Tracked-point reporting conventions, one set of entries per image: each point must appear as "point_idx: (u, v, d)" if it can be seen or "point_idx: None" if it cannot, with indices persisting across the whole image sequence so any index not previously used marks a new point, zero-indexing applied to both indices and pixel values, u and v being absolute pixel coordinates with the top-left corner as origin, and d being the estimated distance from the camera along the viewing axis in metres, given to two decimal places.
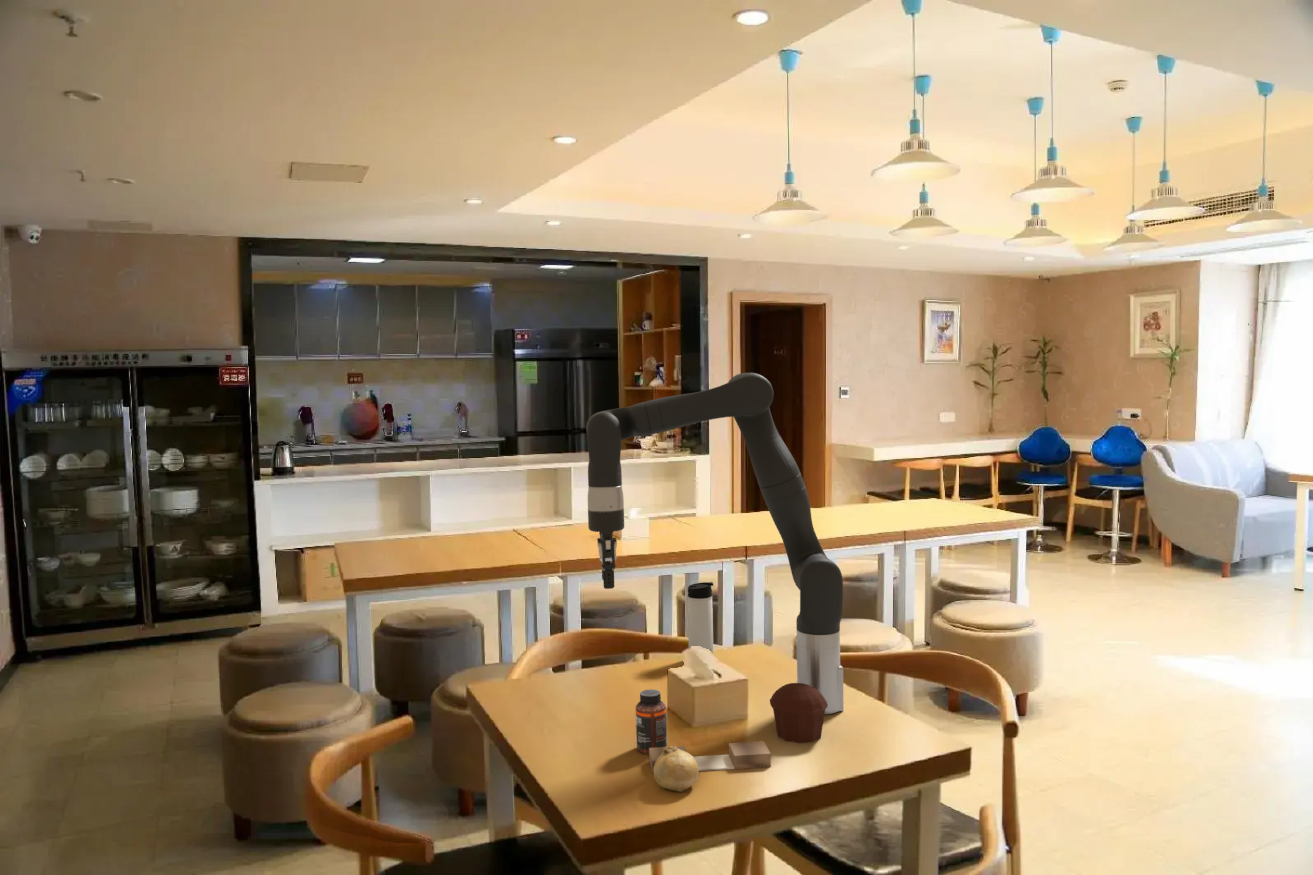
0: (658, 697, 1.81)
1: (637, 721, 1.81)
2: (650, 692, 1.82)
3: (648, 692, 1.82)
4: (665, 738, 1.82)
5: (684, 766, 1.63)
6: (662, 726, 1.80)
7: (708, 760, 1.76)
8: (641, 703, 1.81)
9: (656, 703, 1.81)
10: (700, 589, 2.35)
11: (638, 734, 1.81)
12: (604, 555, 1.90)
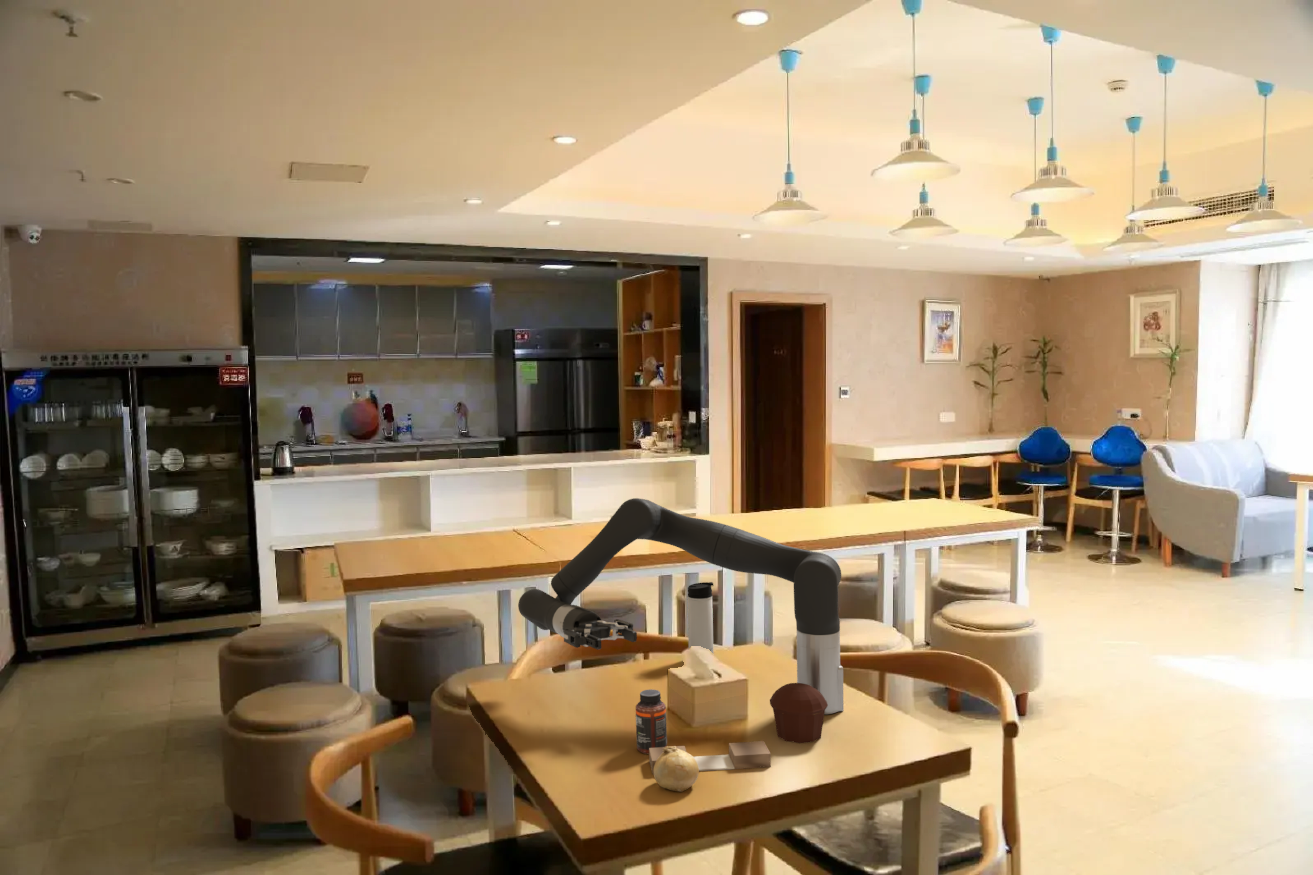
0: (658, 697, 1.81)
1: (637, 721, 1.81)
2: (650, 692, 1.82)
3: (648, 692, 1.82)
4: (665, 738, 1.82)
5: (684, 766, 1.63)
6: (662, 726, 1.80)
7: (708, 760, 1.76)
8: (641, 703, 1.81)
9: (656, 703, 1.81)
10: (700, 589, 2.35)
11: (638, 734, 1.81)
12: (569, 642, 1.93)
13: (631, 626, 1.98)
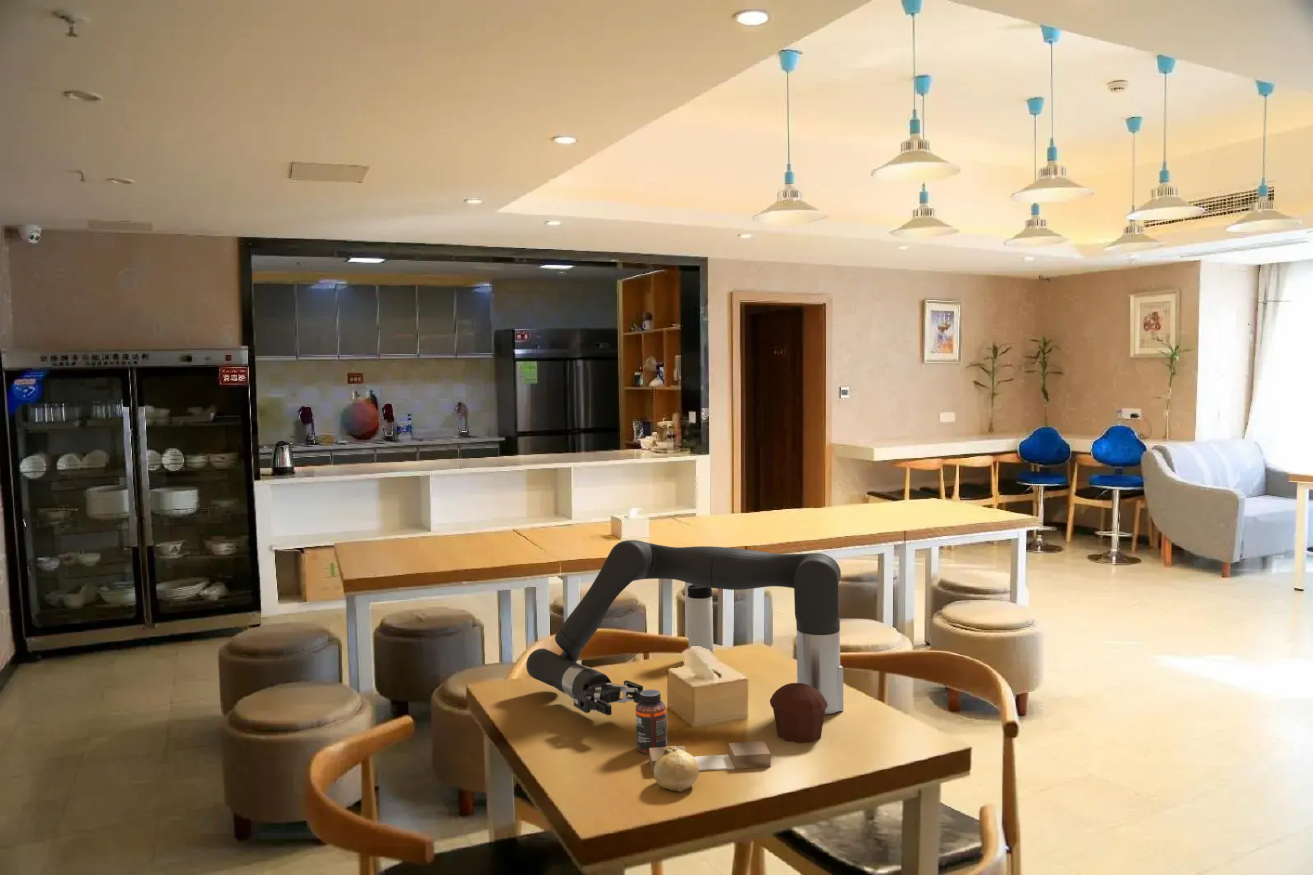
0: (658, 697, 1.81)
1: (637, 721, 1.81)
2: (650, 692, 1.82)
3: (648, 692, 1.82)
4: (665, 738, 1.82)
5: (684, 766, 1.63)
6: (662, 726, 1.80)
7: (708, 760, 1.76)
8: (641, 703, 1.81)
9: (656, 703, 1.81)
10: (700, 589, 2.35)
11: (638, 734, 1.81)
12: (579, 707, 1.91)
13: (641, 688, 1.97)
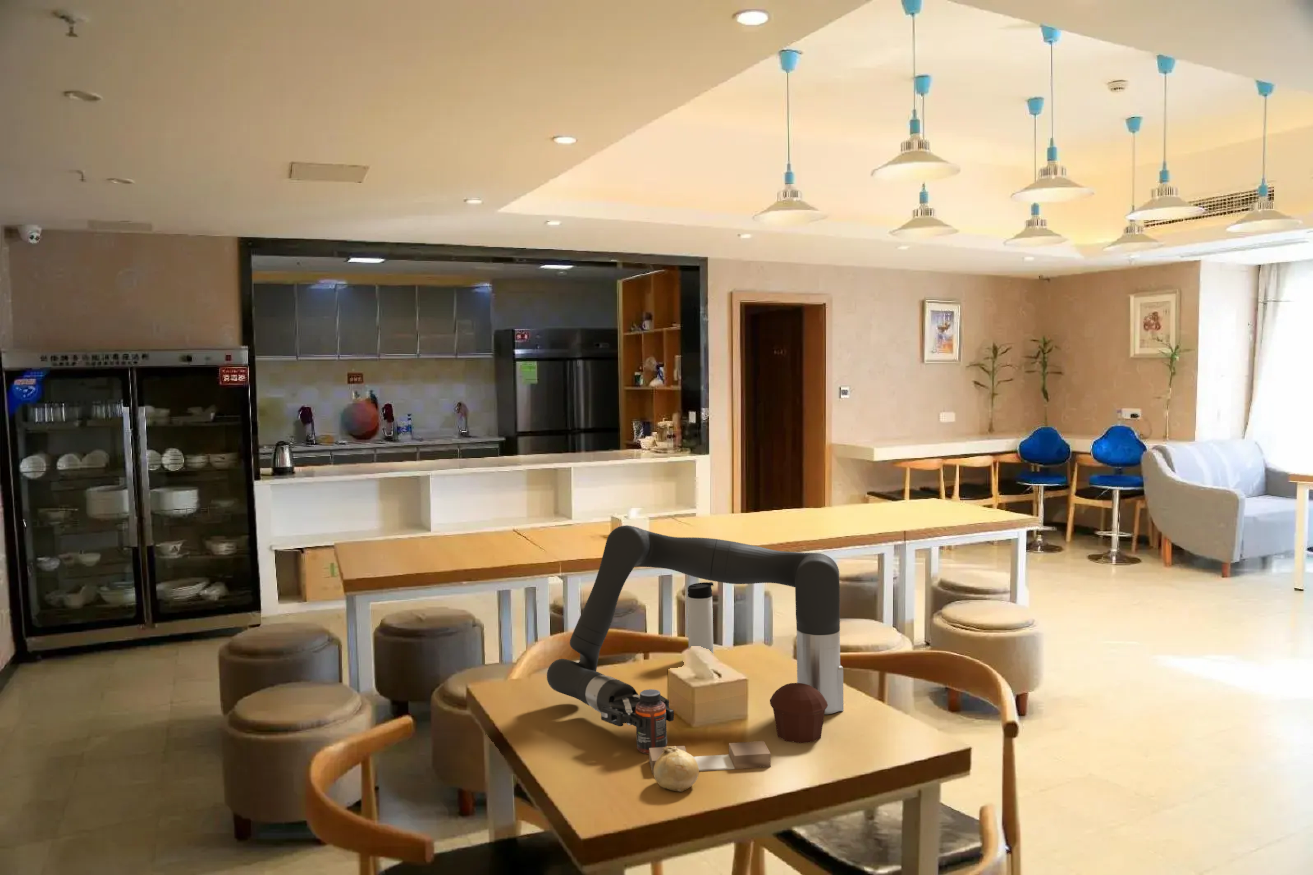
0: (658, 697, 1.81)
1: None
2: (650, 691, 1.82)
3: (648, 692, 1.82)
4: (665, 738, 1.82)
5: (684, 766, 1.63)
6: (662, 726, 1.80)
7: (708, 760, 1.76)
8: (641, 703, 1.81)
9: (656, 703, 1.81)
10: (700, 589, 2.35)
11: (638, 734, 1.81)
12: (610, 721, 1.83)
13: (667, 703, 1.87)
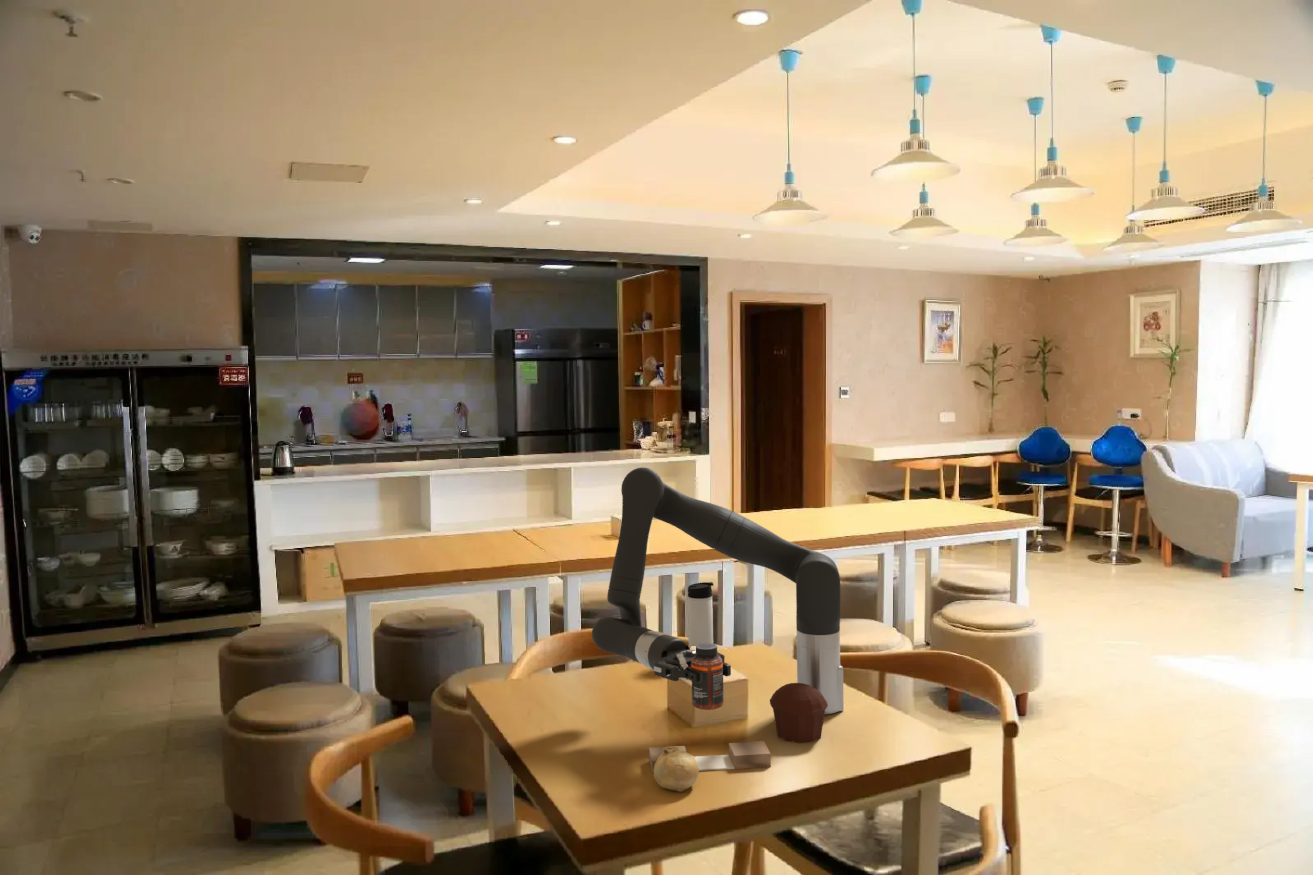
0: (715, 650, 1.73)
1: None
2: (707, 645, 1.74)
3: (704, 646, 1.74)
4: (722, 693, 1.73)
5: (684, 766, 1.63)
6: (719, 681, 1.72)
7: (708, 760, 1.76)
8: (697, 657, 1.73)
9: (713, 657, 1.72)
10: (700, 589, 2.35)
11: (694, 689, 1.73)
12: (664, 676, 1.75)
13: (722, 658, 1.79)
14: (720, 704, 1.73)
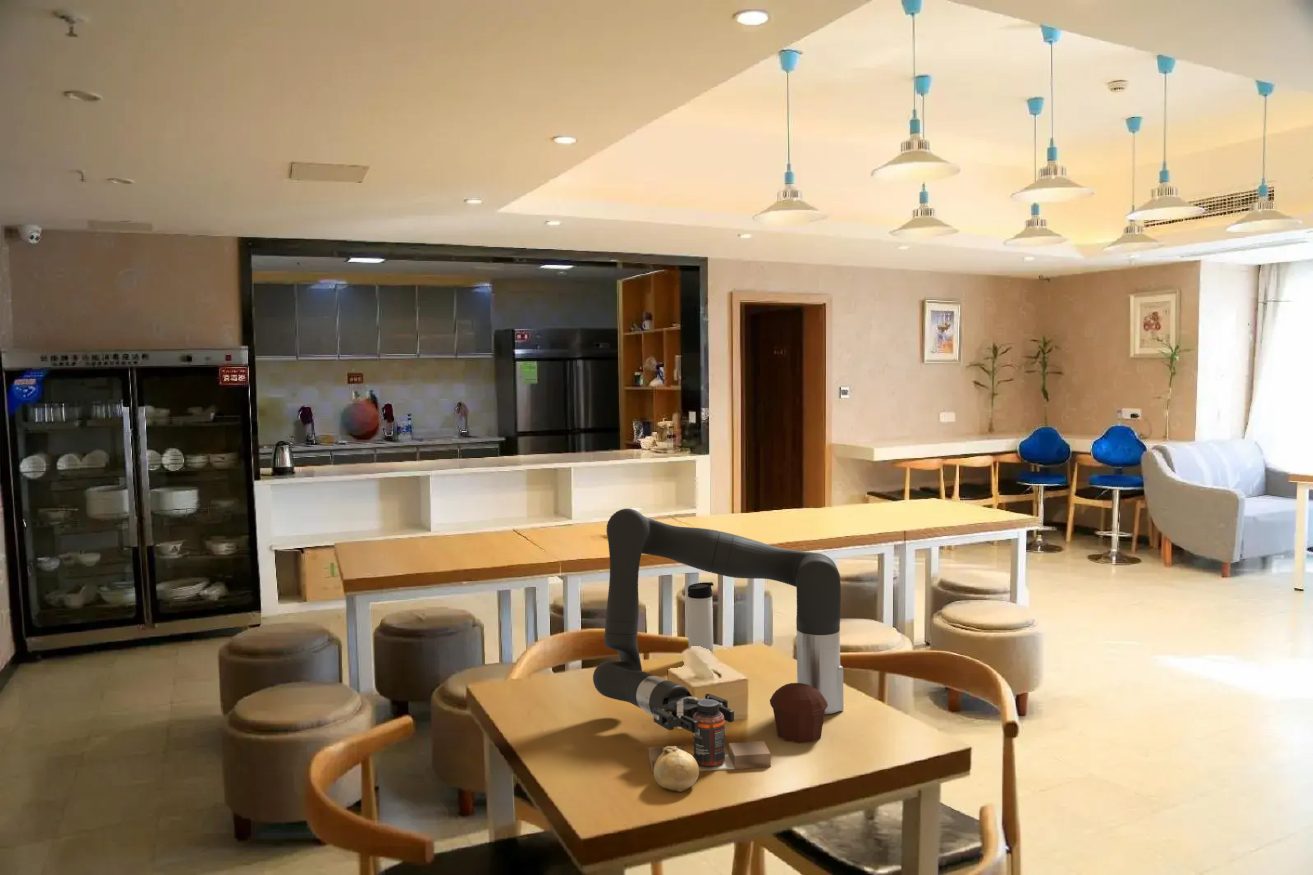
0: (717, 707, 1.74)
1: None
2: (708, 702, 1.75)
3: (706, 702, 1.75)
4: (724, 750, 1.74)
5: (684, 766, 1.63)
6: (720, 738, 1.73)
7: None
8: (699, 713, 1.74)
9: (714, 714, 1.73)
10: (700, 589, 2.35)
11: (696, 746, 1.74)
12: (661, 723, 1.75)
13: (726, 703, 1.81)
14: (722, 761, 1.74)
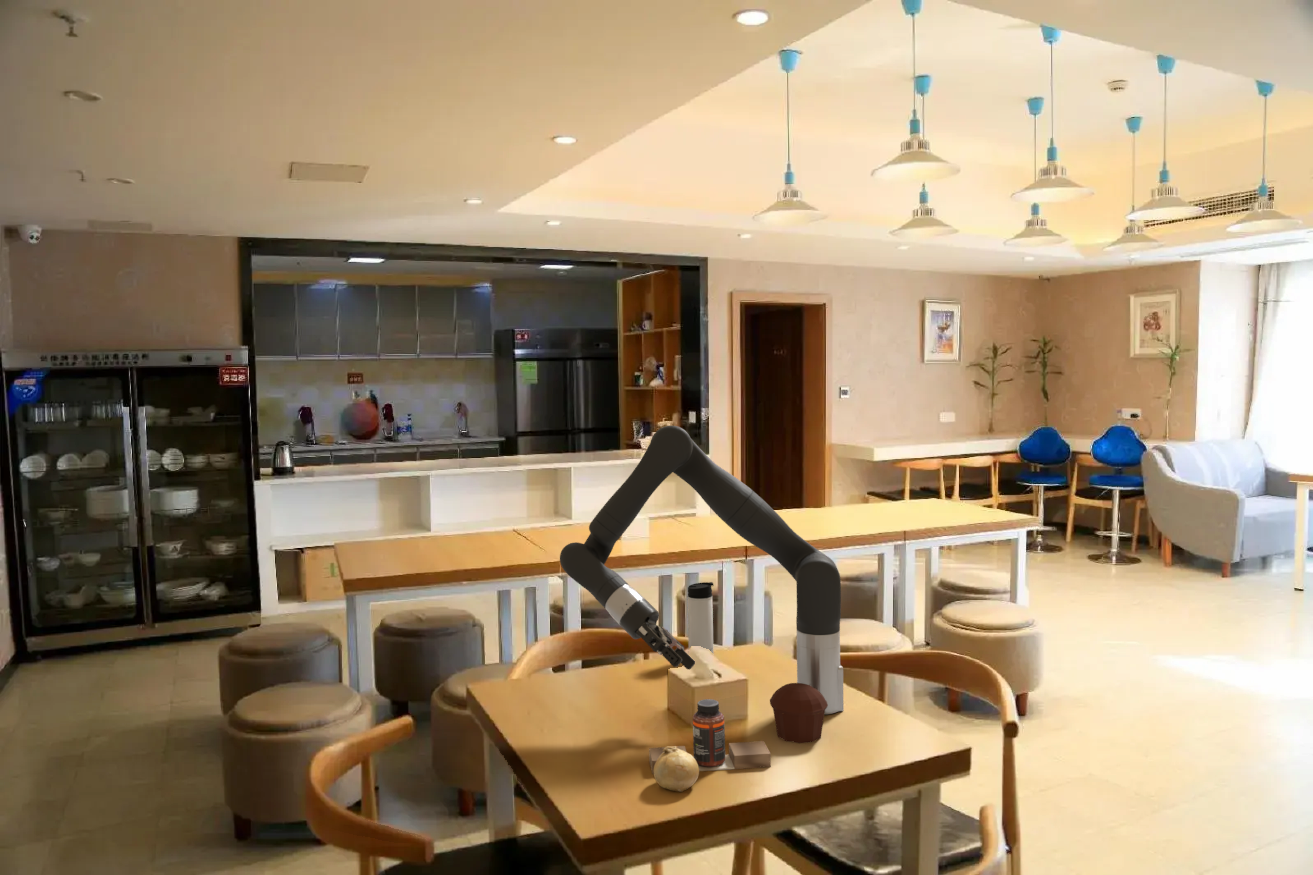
0: (717, 707, 1.74)
1: (695, 732, 1.74)
2: (708, 702, 1.75)
3: (706, 702, 1.75)
4: (724, 750, 1.74)
5: (684, 766, 1.63)
6: (720, 738, 1.73)
7: None
8: (699, 713, 1.74)
9: (714, 714, 1.73)
10: (700, 589, 2.35)
11: (696, 746, 1.74)
12: (646, 640, 1.86)
13: (683, 648, 1.97)
14: (722, 761, 1.74)
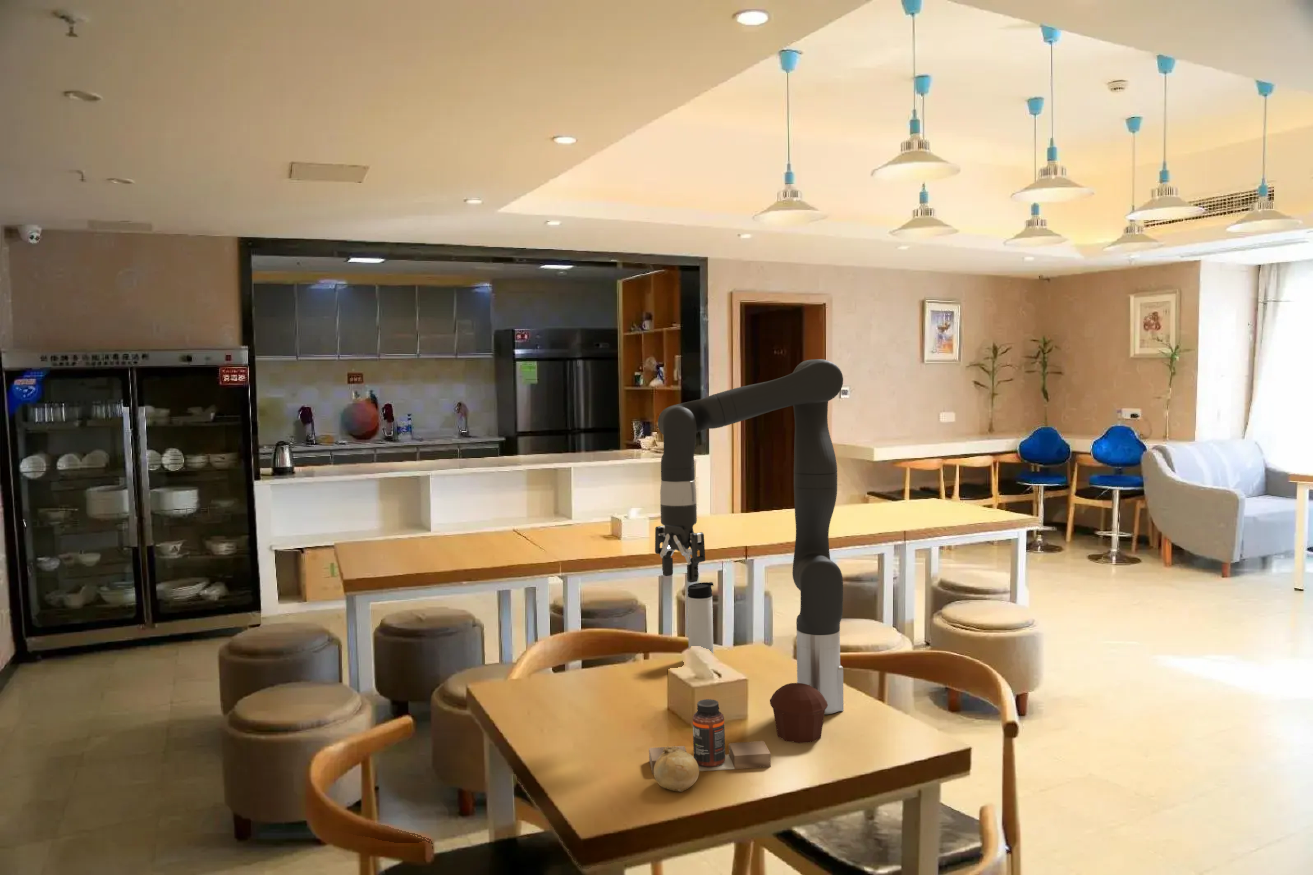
0: (717, 707, 1.74)
1: (694, 732, 1.74)
2: (708, 702, 1.75)
3: (706, 702, 1.75)
4: (724, 750, 1.74)
5: (684, 766, 1.63)
6: (720, 738, 1.73)
7: None
8: (699, 713, 1.74)
9: (714, 714, 1.73)
10: (700, 589, 2.35)
11: (696, 746, 1.74)
12: (696, 548, 1.90)
13: None
14: (722, 761, 1.74)
